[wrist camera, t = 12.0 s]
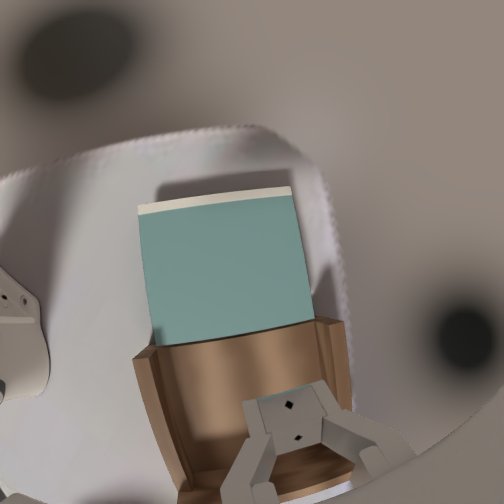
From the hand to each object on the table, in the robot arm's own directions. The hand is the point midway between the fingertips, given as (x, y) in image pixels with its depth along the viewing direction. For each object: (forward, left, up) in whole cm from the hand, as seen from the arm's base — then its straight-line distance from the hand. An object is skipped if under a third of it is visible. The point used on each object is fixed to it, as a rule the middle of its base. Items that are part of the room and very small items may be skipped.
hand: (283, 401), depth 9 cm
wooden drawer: (+7, -7, -22) cm, 24 cm away
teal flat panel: (0, 0, -19) cm, 19 cm away
